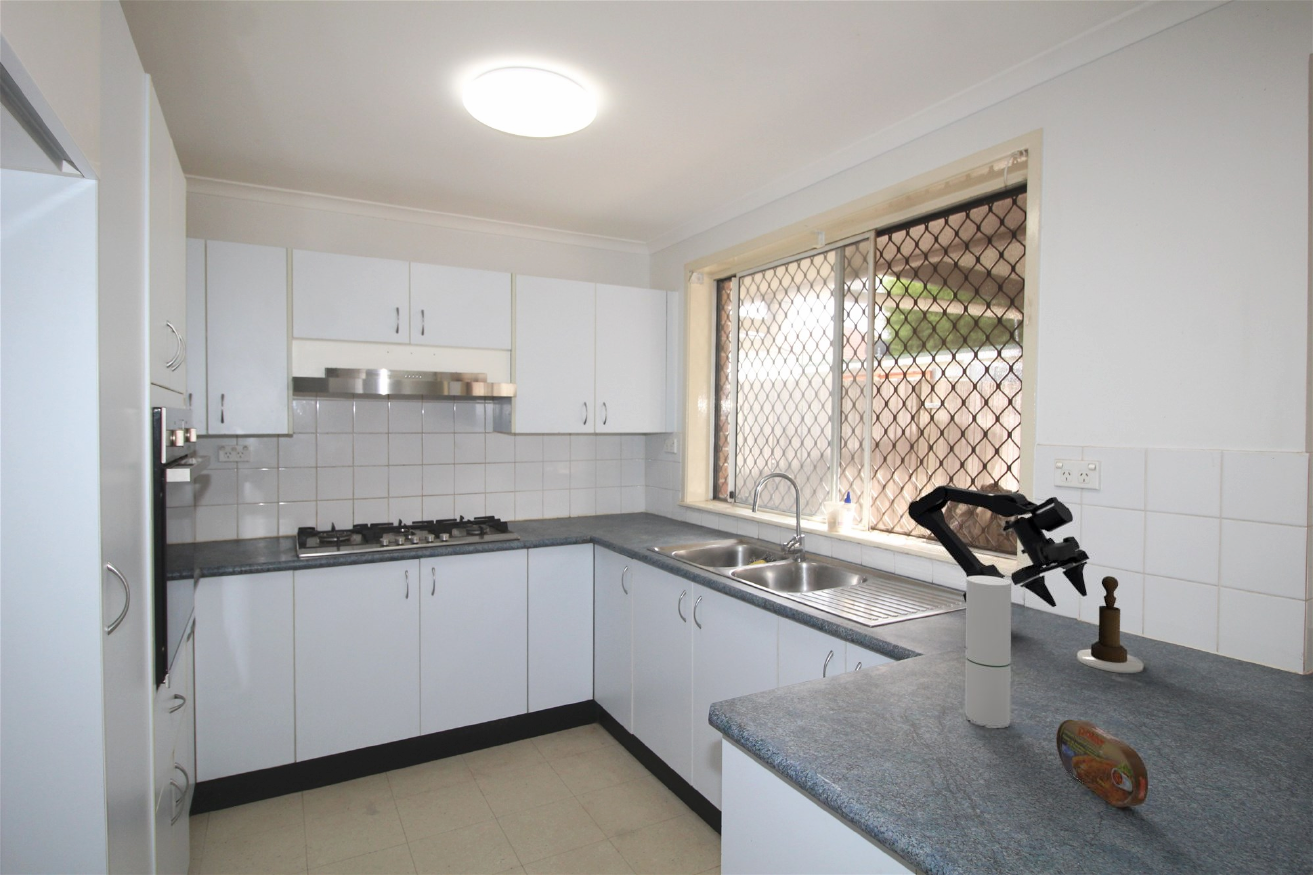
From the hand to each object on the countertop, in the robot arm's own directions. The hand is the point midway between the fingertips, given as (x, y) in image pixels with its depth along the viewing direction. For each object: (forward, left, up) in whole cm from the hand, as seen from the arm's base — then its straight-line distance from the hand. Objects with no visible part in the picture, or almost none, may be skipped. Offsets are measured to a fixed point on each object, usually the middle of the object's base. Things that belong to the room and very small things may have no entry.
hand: (1070, 601), depth 156 cm
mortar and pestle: (+6, -8, -10) cm, 14 cm away
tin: (-8, -68, -11) cm, 69 cm away
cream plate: (+6, -8, -11) cm, 15 cm away
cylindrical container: (-21, -49, -11) cm, 55 cm away
